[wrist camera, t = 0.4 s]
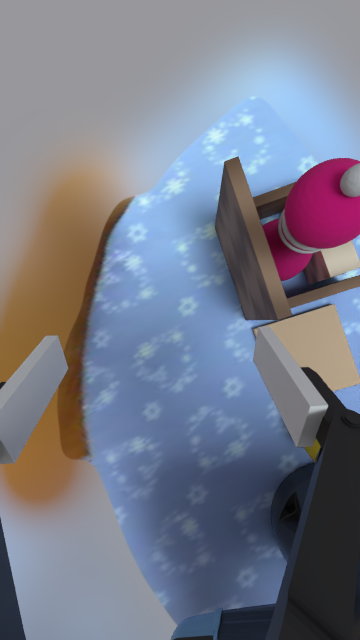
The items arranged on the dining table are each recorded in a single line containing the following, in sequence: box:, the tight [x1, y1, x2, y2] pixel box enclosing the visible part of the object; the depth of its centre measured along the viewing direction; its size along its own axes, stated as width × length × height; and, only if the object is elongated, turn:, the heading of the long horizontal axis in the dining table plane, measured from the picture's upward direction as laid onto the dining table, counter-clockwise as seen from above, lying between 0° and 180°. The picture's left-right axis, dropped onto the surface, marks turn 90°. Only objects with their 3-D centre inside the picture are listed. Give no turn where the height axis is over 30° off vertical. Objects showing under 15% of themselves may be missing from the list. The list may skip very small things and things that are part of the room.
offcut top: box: [310, 240, 360, 281], centre depth 29 cm, size 10×4×3 cm, turn 19°
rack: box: [215, 157, 360, 320], centre depth 26 cm, size 14×14×14 cm
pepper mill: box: [262, 158, 360, 281], centre depth 23 cm, size 7×7×20 cm
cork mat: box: [253, 304, 360, 391], centre depth 32 cm, size 11×11×1 cm
